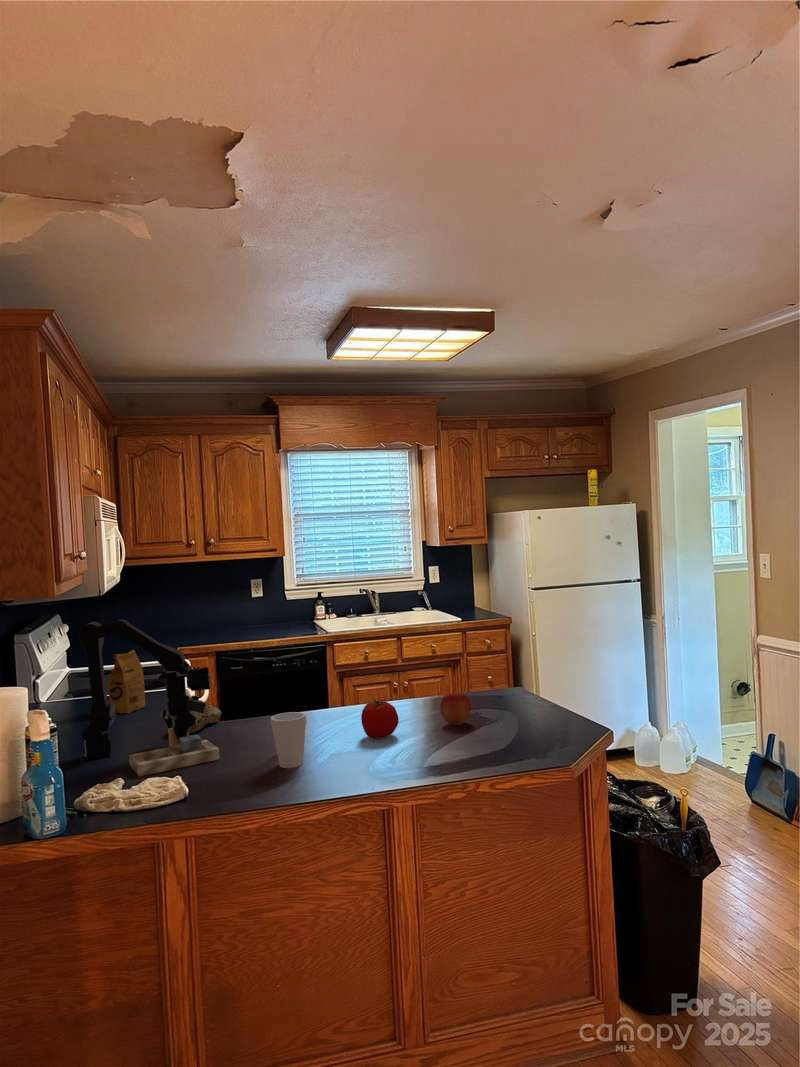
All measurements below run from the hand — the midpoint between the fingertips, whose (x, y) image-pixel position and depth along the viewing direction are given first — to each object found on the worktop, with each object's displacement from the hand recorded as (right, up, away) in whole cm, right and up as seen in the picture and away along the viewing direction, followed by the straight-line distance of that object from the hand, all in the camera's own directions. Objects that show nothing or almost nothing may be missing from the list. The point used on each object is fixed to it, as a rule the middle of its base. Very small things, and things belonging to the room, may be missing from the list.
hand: (179, 744), depth 229 cm
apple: (+84, +4, +7) cm, 85 cm away
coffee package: (-36, -4, +57) cm, 68 cm away
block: (0, -1, 0) cm, 1 cm away
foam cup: (+37, +1, -23) cm, 44 cm away
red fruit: (+61, +2, -2) cm, 61 cm away
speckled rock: (-1, -2, +23) cm, 23 cm away
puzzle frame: (+3, -1, -15) cm, 15 cm away
